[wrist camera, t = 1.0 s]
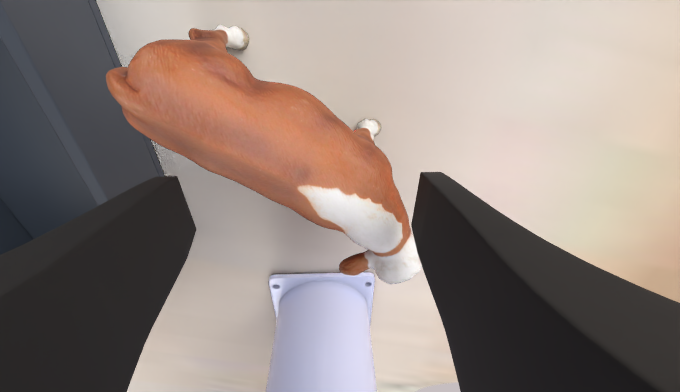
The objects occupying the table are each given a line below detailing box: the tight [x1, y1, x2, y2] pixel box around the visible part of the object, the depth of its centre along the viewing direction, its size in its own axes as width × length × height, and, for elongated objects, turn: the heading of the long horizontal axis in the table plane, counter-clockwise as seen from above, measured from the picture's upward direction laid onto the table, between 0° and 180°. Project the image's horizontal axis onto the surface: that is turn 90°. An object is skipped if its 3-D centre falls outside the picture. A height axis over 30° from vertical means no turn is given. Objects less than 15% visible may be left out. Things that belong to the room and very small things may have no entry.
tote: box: [0, 0, 165, 255], centre depth 14 cm, size 18×10×4 cm, turn 0°
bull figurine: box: [106, 25, 422, 284], centre depth 13 cm, size 4×13×8 cm, turn 51°
